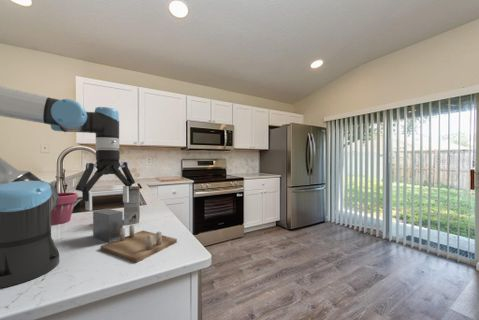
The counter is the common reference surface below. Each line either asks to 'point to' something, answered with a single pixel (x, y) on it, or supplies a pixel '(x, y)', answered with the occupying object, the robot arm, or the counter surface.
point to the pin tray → (138, 244)
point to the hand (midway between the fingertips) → (108, 205)
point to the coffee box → (132, 206)
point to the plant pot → (63, 208)
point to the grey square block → (107, 224)
